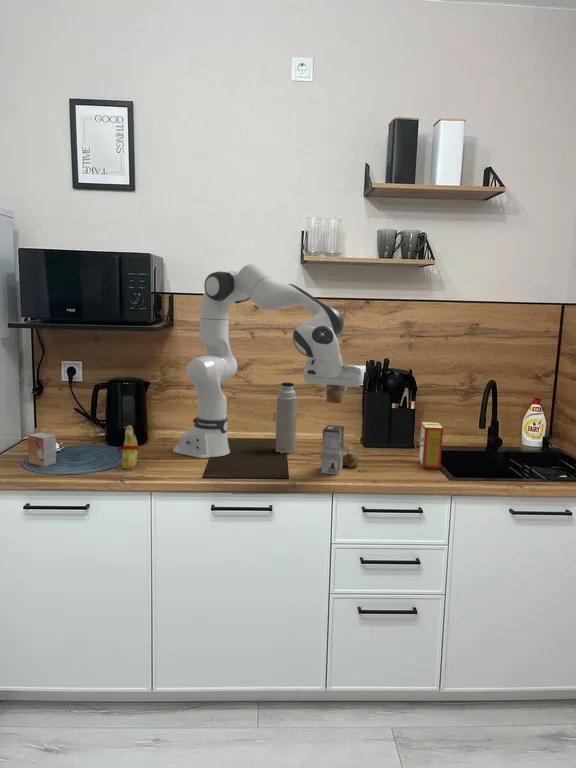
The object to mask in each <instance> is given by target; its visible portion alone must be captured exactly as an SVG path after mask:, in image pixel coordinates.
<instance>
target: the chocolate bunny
mask: <svg viewBox="0 0 576 768" xmlns="http://www.w3.org/2000/svg"><path fill="white" fill-rule="evenodd" d="M124 434H125V436H124V441H123V446H122V445H120V446H119V447H118V448H117V453H116V454H119V453H120V452H121V451H122V457H121V468H122V469H123V470H124V469H125V470H131V469H132V470H133V469H134V468H135V465H136V464H137V462H138V450H139V446H138V440H137V437H136V434H135V430H134V427H133V426H132V425H130V424H128V425H127V426H126V428H125V432H124Z"/></svg>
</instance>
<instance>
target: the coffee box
mask: <svg viewBox="0 0 576 768" xmlns="http://www.w3.org/2000/svg"><path fill="white" fill-rule="evenodd" d="M344 437H345V426H344V425H334V424H327V425H326V427H324V429H322V446H321V447H322V450H321V471H320V472H321V474H325V473H326V475H334V474H335V476H338V475H340V472H341V471H342V469H343V467H344V466H343V444H344V442H345V441H344V440H345V438H344Z"/></svg>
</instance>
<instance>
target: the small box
mask: <svg viewBox="0 0 576 768" xmlns="http://www.w3.org/2000/svg"><path fill="white" fill-rule="evenodd" d="M56 439H57V438H56V434H48V433H45V432H36V433H32V434H29V435H27V448H28V449H27V452H28V453H27V455H28V456H27V457H28V459H27V460H28V463H29V464H32V465H36V466H40V467H47V466H51V465H55V464H56V463H57V444H56V443H57V441H56Z"/></svg>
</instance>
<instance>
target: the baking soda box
mask: <svg viewBox="0 0 576 768" xmlns="http://www.w3.org/2000/svg"><path fill="white" fill-rule="evenodd" d="M443 433H444V428H443V426H442V425H441V423H439V422H433V421H432V422H430V421H421V422H420V437H419V438H420V439H419V451H418V452H419V453H418V462H419V464H420V466H421V468H422V469H437V470H440V469H441V464H442V463H441V462H442V448H443Z"/></svg>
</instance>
